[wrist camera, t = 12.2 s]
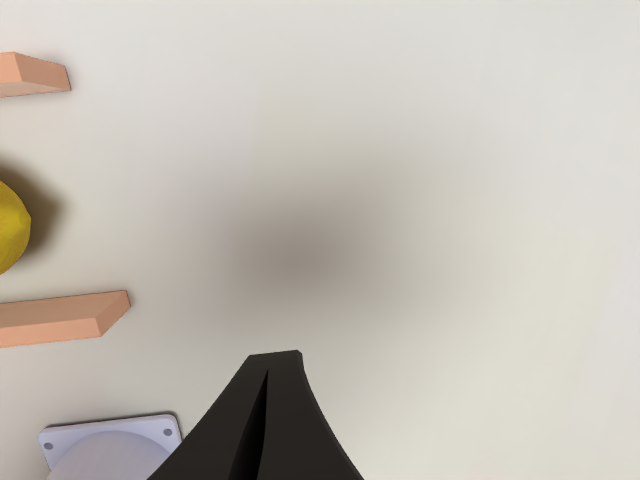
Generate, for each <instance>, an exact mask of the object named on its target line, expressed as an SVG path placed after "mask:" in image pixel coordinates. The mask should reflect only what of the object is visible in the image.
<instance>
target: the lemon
mask: <svg viewBox="0 0 640 480" xmlns="http://www.w3.org/2000/svg"><path fill="white" fill-rule="evenodd" d="M30 224H31V217H30V215H29V213H27V210H26V208H25V206H24V204H23V202H22V201H21V199H20V198H19V197H18V196H17V195H16V193H15V192H14V191H13V190H12V189H10V188H9V187H8V186H7V185H5V184H4V183H3V182H1V181H0V275H1V274H2V273H4V272H5V271H7V270H8V269H9V268H10V267H11V266H12V265H13V264H14V263H15V262H16V261H17V260H18V259H19V258H20V257H21V255H22V254H23V252H24V250H25V248H26V247H27V245H28V241H29V238H30Z"/></svg>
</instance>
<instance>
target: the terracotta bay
mask: <svg viewBox="0 0 640 480" xmlns="http://www.w3.org/2000/svg"><path fill="white" fill-rule="evenodd" d="M69 90H71V88H70V84H69V81H68V77H67V74H66V70H65V66H61V65H58V64H54V63H51V62H47V61H44V60H40V59H37V58H33V57H30V56H26V55H22V54H19V53H15V52H7V53H0V97H8V96H18V95H28V94H38V93H49V92H59V91H69ZM129 308H130V303H129V300H128V296H127V292H126V290H124V291H115V292H106V293H97V294H87V295H78V296H69V297H59V298H50V299H41V300H32V301H22V302H13V303H4V304H0V348H5V347H14V346H23V345H32V344H41V343H50V342H60V341H69V340H78V339H87V338H96V337H101V336H102V335H103V334H104V333H105V332H106V331H107V330H108V329H109V328H110V327H111V326H112V325H113V324H114V323H115V322H116V321H117V320H118V319H119V318H120V317H121V316H122V315H123V314H124V313H125V312H126V311H127V310H128V309H129Z"/></svg>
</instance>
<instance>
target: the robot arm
mask: <svg viewBox="0 0 640 480" xmlns="http://www.w3.org/2000/svg"><path fill="white" fill-rule="evenodd" d="M167 429H170V430H171V431H169V430H167ZM38 441H39V444H40V446H41V449H42V451H43V454H44V456H45V459H46V461H47V464H48V466H49V469H50V471H51V473H50V474H49V476H48V477H47V478H46V480H364V479H363V477H362V476H361V474H360V473H359V472H358V470H357V469H356V467H355V466H354V465H353V463H352V462H351V460H350V459H349V457H348V456H347V454H346V453H345V451H344V450H343V448H342V446H341V445H340V443H339V442H338V440H337V438H336V437H335V435H334V433H333V432H332V430H331V428H330V426H329V424H328V423H327V421H326V419H325V417H324V415H323V413H322V411H321V409H320V407H319V405H318V403H317V401H316V399H315V397H314V394H313V392H312V390H311V388H310V385H309V383H308V380H307V377H306V374H305V371H304V365H303V358H302V353H301V352H299V351H298V350H291V351H283V352H274V353H265V354H256V355H249V356H248V358H247V359H246V360H245V361H244V363H243V364H242V366H241V367H240V368H239V370H238V371H237V373H236V374H235V375H234V377H233V378H232V380H231V381H230V382H229V384H228V385H227V386H226V388H225V389H224V390H223V392H222V393H221V394H220V396H219V397H218V398H217V400H216V401H215V402H214V403H213V405H212V406H211V407H210V409H209V410H208V411H207V412H206V414H205V415H204V416H203V417H202V419H201V420H200V421H199V422H198V423H197V425H196V426H195V427H194V428H193V429H192V430H191V432H190V433H189V434H188V435H187V436H186V437H185V439H184V440H183V441H182V440H181V436H180V432H179V428H178V424H177V421H176V418H175V417H174V416H172V415H170V414H164V415H156V416H147V417H138V418H129V419H121V420H112V421H103V422H94V423H86V424H77V425H68V426H59V427H51V428H45V429H43V430H42V431H41V432H40V433H39V435H38Z"/></svg>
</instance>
